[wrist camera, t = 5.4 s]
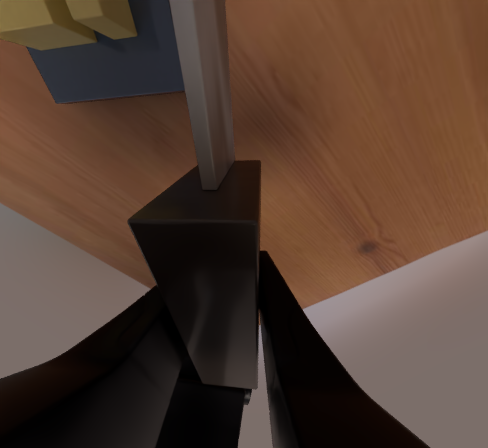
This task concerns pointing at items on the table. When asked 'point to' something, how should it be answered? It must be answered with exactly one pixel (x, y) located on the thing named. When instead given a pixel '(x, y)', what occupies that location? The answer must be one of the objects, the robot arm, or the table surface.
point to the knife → (208, 215)
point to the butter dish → (117, 61)
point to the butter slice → (104, 16)
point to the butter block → (42, 24)
